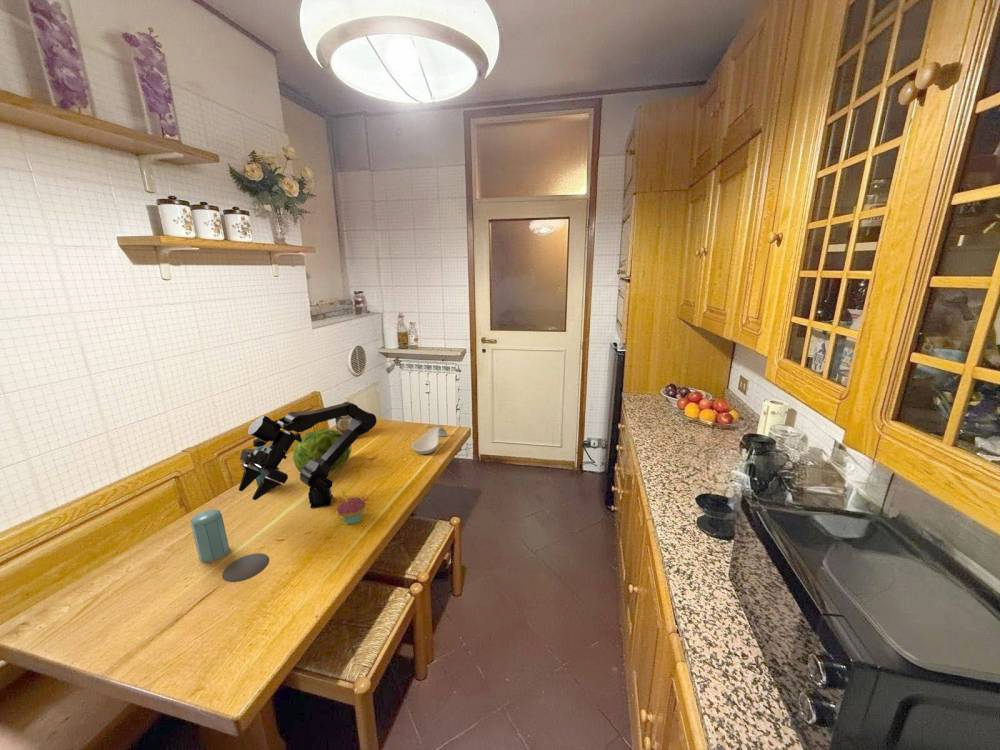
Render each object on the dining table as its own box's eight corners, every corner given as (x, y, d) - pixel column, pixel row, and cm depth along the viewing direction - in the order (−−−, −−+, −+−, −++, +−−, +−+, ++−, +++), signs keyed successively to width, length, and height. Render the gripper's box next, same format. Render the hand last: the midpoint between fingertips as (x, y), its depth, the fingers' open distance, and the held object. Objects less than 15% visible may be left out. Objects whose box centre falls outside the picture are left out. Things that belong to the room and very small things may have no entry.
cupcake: (340, 530, 124) (335, 496, 122) (337, 516, 132) (333, 484, 129) (369, 522, 128) (365, 488, 125) (364, 509, 136) (360, 477, 133)
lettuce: (369, 442, 170) (340, 414, 175) (327, 456, 148) (296, 423, 153) (349, 473, 175) (322, 445, 179) (306, 490, 153) (276, 458, 158)
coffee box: (337, 439, 195) (333, 408, 192) (344, 434, 202) (340, 403, 198) (354, 440, 194) (350, 408, 190) (361, 434, 200) (357, 404, 196)
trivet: (274, 551, 116) (274, 550, 116) (262, 578, 105) (261, 577, 105) (232, 558, 113) (232, 557, 113) (215, 586, 103) (214, 585, 103)
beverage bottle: (263, 484, 154) (253, 436, 149) (280, 483, 154) (272, 435, 149) (254, 493, 148) (244, 443, 143) (273, 492, 148) (263, 442, 143)
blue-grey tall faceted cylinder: (233, 545, 119) (225, 508, 116) (221, 561, 112) (212, 522, 109) (208, 548, 118) (199, 510, 115) (195, 564, 111) (185, 525, 108)
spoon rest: (431, 458, 173) (430, 443, 171) (407, 456, 176) (406, 440, 174) (453, 437, 194) (452, 423, 193) (431, 435, 198) (430, 421, 196)
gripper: (242, 431, 126) (208, 477, 120) (270, 444, 115) (235, 496, 109) (272, 445, 134) (242, 489, 128) (301, 459, 123) (270, 507, 117)
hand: (246, 495), depth 120 cm, fingers open, 9 cm apart
